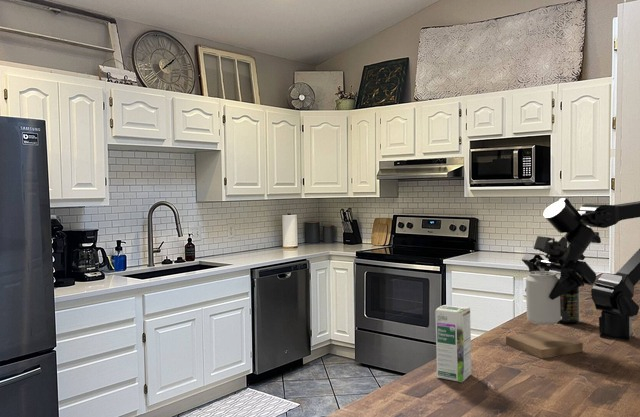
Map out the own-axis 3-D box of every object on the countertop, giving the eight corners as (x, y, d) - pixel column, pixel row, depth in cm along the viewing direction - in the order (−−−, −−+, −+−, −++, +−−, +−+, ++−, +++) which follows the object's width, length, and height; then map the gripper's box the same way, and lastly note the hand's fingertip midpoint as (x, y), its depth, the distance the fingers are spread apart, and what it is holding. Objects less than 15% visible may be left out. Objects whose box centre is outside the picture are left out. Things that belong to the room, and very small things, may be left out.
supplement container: (585, 322, 148) (584, 285, 147) (569, 326, 144) (569, 288, 144) (563, 317, 153) (562, 282, 153) (548, 321, 150) (547, 285, 150)
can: (564, 326, 122) (563, 274, 122) (530, 326, 124) (528, 275, 123) (556, 317, 130) (555, 269, 129) (524, 317, 131) (522, 269, 131)
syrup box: (435, 378, 110) (434, 309, 109) (446, 369, 115) (444, 303, 114) (462, 383, 107) (461, 312, 106) (472, 374, 111) (470, 306, 111)
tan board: (544, 337, 135) (544, 330, 134) (582, 351, 123) (582, 342, 123) (505, 344, 131) (505, 336, 130) (541, 358, 119) (541, 350, 119)
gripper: (526, 221, 136) (492, 268, 132) (585, 226, 118) (547, 280, 115) (551, 249, 139) (518, 296, 136) (612, 258, 121) (576, 311, 118)
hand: (538, 295), depth 126 cm, fingers closed on can, 7 cm apart
